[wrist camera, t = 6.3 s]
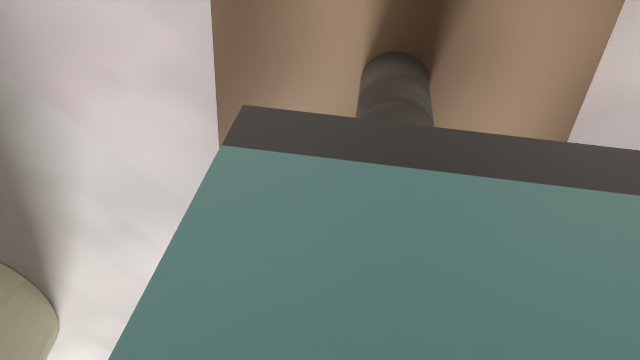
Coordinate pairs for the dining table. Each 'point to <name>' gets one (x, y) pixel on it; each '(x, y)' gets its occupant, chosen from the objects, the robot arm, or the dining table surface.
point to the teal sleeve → (397, 248)
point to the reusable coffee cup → (24, 319)
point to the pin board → (450, 34)
